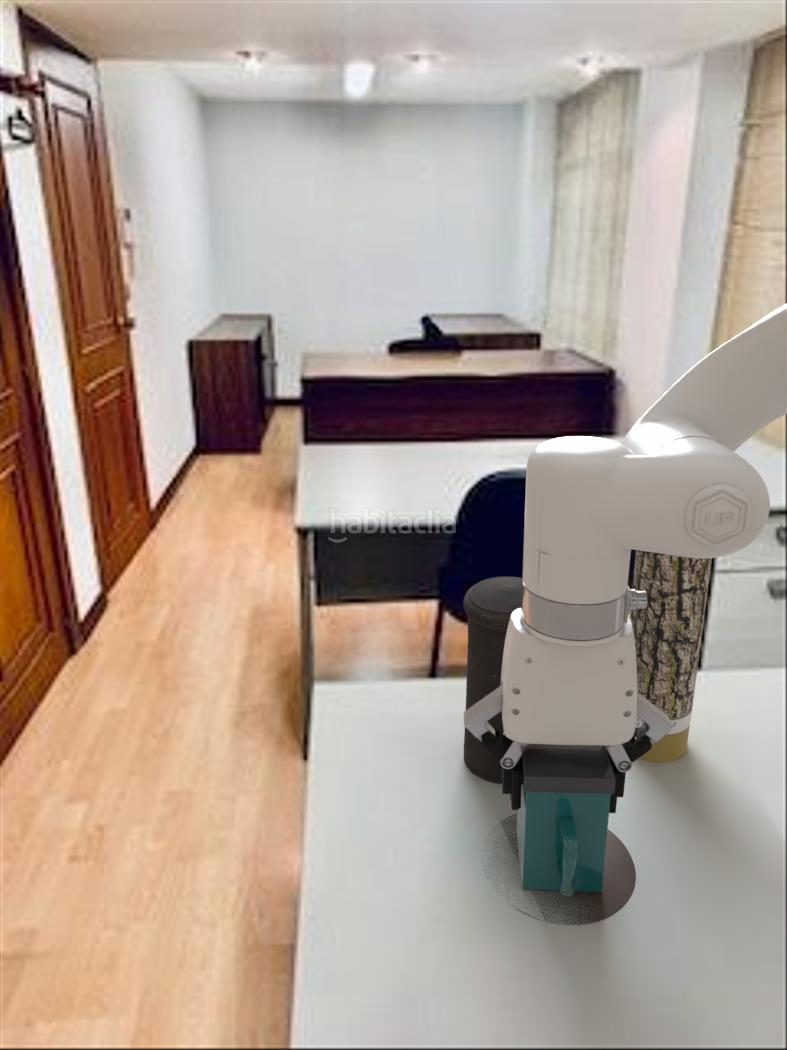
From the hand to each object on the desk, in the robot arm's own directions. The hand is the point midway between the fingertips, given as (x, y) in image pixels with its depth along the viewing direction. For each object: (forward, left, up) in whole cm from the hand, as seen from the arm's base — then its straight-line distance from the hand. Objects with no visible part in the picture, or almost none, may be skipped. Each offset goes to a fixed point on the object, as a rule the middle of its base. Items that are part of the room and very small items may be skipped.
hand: (560, 798), depth 62 cm
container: (+4, -14, -8) cm, 16 cm away
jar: (0, +1, -7) cm, 7 cm away
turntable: (0, 0, -7) cm, 7 cm away
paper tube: (-12, -17, -8) cm, 22 cm away
